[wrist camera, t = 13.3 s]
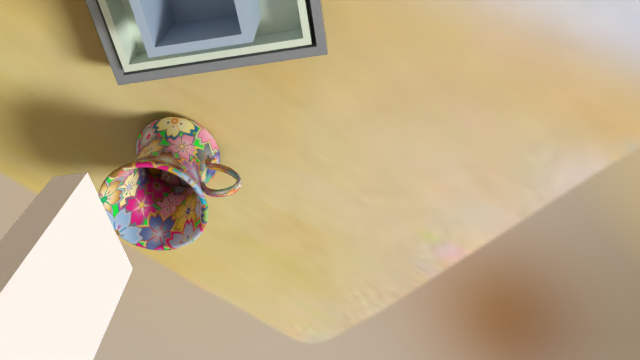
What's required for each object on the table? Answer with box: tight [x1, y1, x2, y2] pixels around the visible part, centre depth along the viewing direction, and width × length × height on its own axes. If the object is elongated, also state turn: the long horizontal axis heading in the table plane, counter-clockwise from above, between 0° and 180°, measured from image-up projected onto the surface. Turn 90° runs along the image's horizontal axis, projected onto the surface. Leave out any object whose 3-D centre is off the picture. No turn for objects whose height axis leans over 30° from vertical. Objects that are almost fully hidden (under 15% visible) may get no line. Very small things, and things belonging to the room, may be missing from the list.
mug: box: [99, 117, 241, 250], centre depth 47 cm, size 12×9×11 cm
